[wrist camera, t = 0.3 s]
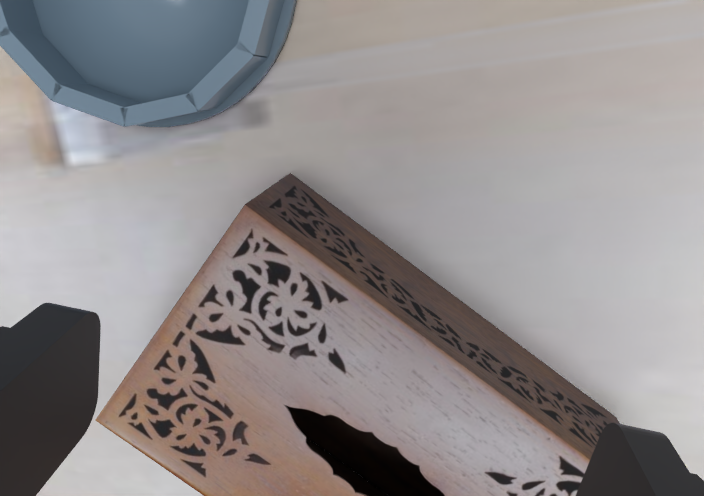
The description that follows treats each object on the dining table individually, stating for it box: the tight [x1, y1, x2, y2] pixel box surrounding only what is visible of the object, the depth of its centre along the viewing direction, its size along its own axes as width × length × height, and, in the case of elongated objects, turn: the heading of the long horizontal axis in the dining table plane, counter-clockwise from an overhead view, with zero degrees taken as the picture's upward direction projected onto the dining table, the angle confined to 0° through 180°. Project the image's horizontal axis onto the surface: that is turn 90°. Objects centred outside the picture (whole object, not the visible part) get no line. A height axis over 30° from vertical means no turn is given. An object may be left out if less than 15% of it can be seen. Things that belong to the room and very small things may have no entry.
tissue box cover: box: [96, 173, 620, 496], centre depth 35 cm, size 26×14×10 cm, turn 54°
